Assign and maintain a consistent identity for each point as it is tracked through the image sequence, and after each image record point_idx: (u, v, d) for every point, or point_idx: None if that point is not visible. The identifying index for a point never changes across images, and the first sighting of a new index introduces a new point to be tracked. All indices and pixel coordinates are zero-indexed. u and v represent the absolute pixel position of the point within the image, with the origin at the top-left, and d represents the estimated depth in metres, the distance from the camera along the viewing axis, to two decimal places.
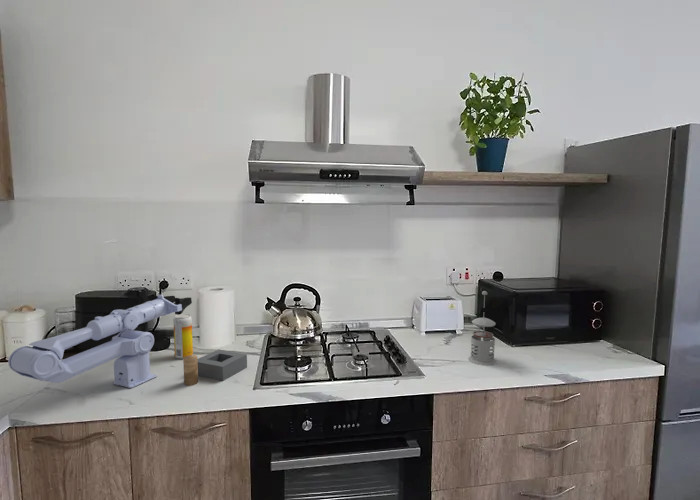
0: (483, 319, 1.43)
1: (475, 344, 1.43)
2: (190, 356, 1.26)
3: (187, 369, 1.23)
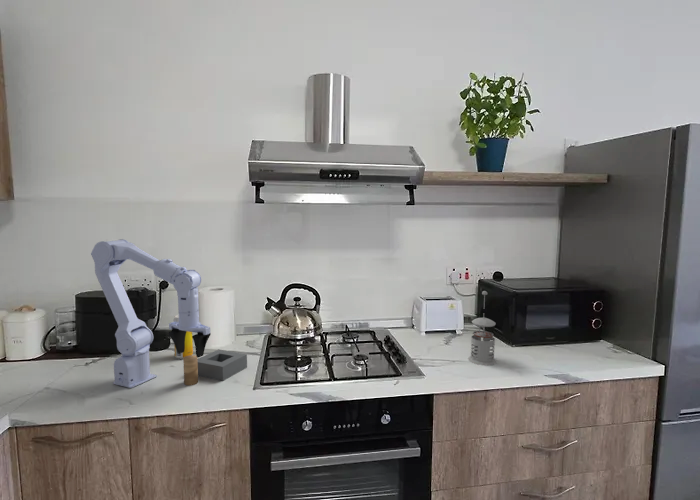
0: (483, 319, 1.43)
1: (475, 344, 1.43)
2: (190, 356, 1.26)
3: (187, 369, 1.23)
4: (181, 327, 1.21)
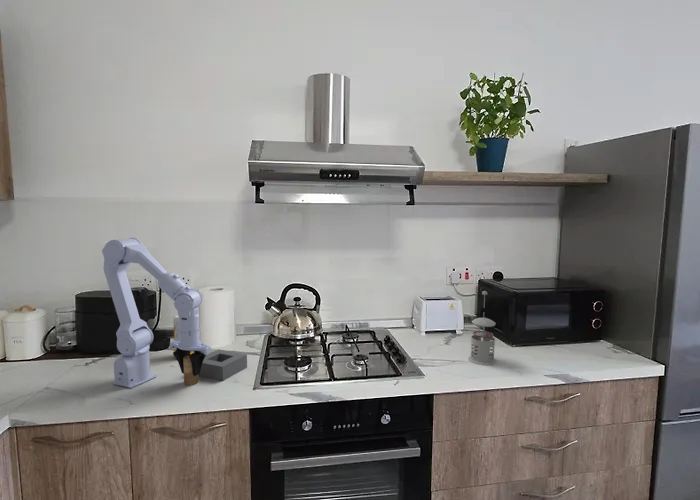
0: (483, 319, 1.43)
1: (475, 344, 1.43)
2: None
3: (187, 369, 1.23)
4: (182, 347, 1.22)
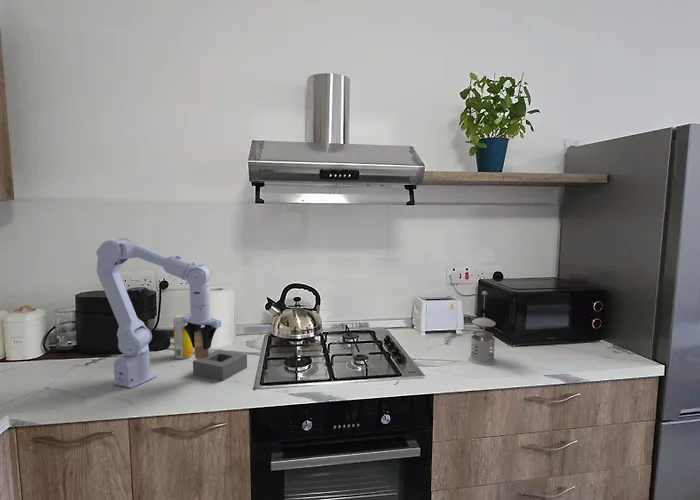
0: (483, 319, 1.43)
1: (475, 344, 1.43)
2: None
3: (198, 342, 1.26)
4: (193, 320, 1.25)
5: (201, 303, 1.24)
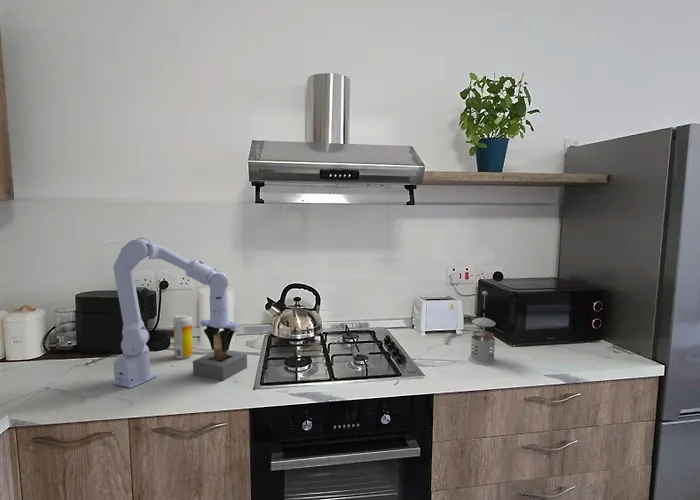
0: (483, 319, 1.43)
1: (475, 344, 1.43)
2: None
3: (217, 345, 1.32)
4: (212, 324, 1.31)
5: (222, 307, 1.31)
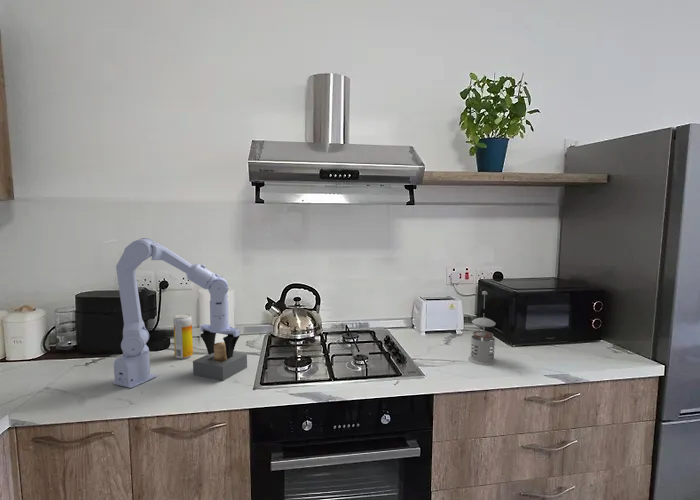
0: (483, 319, 1.43)
1: (475, 344, 1.43)
2: (220, 343, 1.35)
3: (217, 355, 1.32)
4: (213, 329, 1.31)
5: (223, 313, 1.31)
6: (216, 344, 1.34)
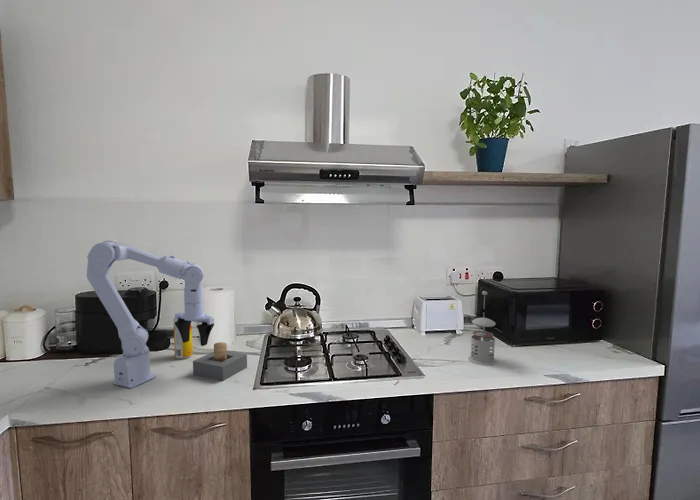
0: (483, 319, 1.43)
1: (475, 344, 1.43)
2: (220, 343, 1.35)
3: (217, 355, 1.32)
4: (187, 317, 1.29)
5: (197, 300, 1.29)
6: (216, 344, 1.34)
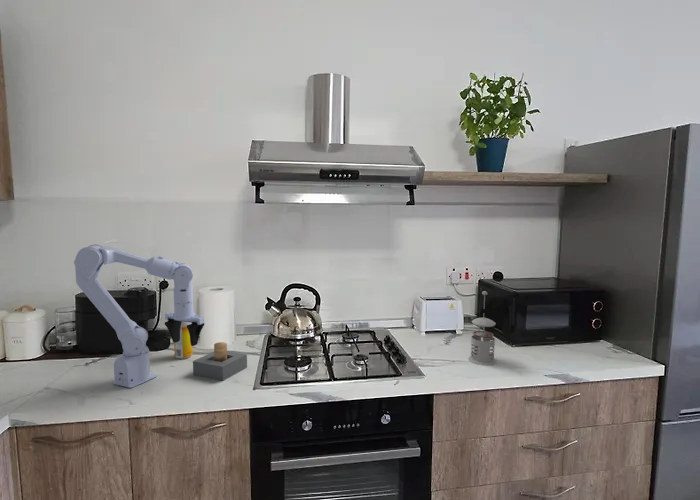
0: (483, 319, 1.43)
1: (475, 344, 1.43)
2: (220, 343, 1.35)
3: (217, 355, 1.32)
4: (176, 317, 1.29)
5: (187, 300, 1.29)
6: (216, 344, 1.34)
